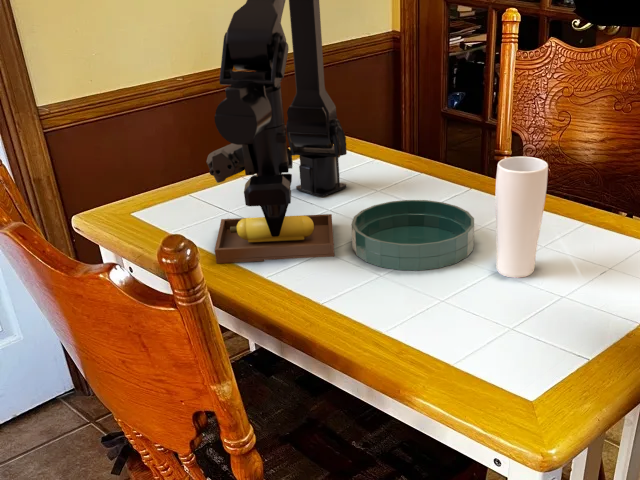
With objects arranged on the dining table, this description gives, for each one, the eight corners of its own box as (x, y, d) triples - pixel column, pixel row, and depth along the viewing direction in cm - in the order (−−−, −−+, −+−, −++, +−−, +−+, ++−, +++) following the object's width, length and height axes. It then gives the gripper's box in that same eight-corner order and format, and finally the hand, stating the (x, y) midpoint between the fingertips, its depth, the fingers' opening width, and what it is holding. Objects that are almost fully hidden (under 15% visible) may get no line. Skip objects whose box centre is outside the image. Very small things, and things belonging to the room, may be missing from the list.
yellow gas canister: (314, 232, 129) (313, 211, 127) (314, 240, 127) (313, 219, 125) (232, 236, 128) (229, 215, 126) (231, 244, 126) (228, 223, 124)
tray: (332, 226, 133) (331, 213, 132) (334, 257, 124) (333, 244, 123) (223, 232, 132) (221, 218, 131) (216, 263, 123) (214, 249, 121)
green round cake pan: (405, 216, 137) (405, 191, 134) (496, 243, 127) (498, 217, 125) (328, 251, 126) (326, 225, 123) (422, 283, 117) (422, 255, 114)
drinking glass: (543, 265, 121) (553, 158, 112) (533, 284, 116) (543, 174, 106) (497, 259, 123) (503, 154, 113) (485, 278, 117) (491, 169, 108)
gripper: (211, 108, 124) (226, 212, 134) (198, 145, 109) (216, 259, 119) (287, 105, 125) (297, 208, 134) (284, 142, 110) (295, 255, 120)
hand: (275, 231), depth 127 cm, fingers closed on yellow gas canister, 3 cm apart
